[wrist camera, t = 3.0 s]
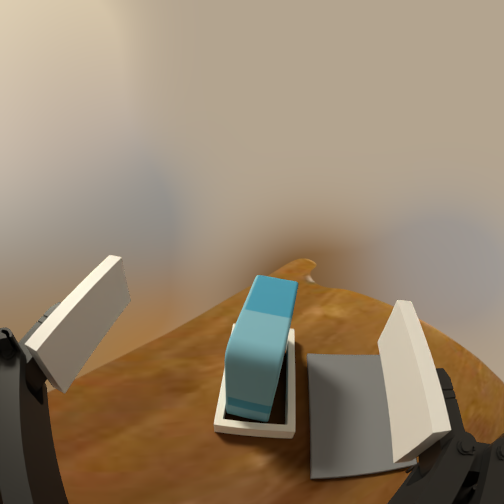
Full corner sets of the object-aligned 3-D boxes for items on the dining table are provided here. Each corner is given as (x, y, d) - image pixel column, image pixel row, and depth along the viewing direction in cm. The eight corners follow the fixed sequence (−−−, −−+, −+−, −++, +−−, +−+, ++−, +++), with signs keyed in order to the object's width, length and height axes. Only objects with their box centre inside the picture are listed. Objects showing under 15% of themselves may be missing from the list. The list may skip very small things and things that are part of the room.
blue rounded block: (266, 427, 26) (281, 363, 20) (225, 417, 27) (223, 350, 21) (285, 349, 36) (299, 275, 30) (252, 342, 37) (258, 268, 31)
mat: (388, 357, 34) (389, 354, 34) (414, 465, 20) (417, 463, 19) (306, 356, 35) (307, 353, 34) (310, 479, 20) (311, 477, 20)
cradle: (291, 338, 38) (294, 328, 37) (292, 438, 24) (295, 431, 23) (233, 333, 38) (233, 323, 37) (214, 431, 25) (213, 424, 24)
